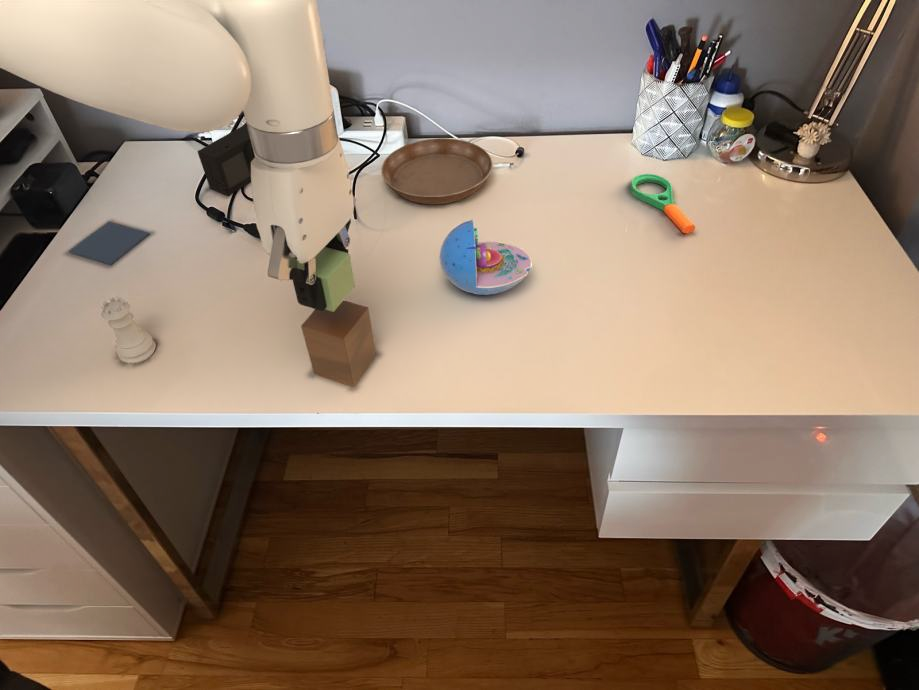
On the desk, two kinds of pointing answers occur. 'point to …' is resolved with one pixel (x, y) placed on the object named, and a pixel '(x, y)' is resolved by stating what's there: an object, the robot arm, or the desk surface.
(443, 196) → the plant saucer
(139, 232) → the coaster
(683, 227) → the magnifying glass
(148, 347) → the rook chess piece
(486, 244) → the cell model
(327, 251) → the top block
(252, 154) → the digital camera
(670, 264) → the desk surface
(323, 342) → the base block
